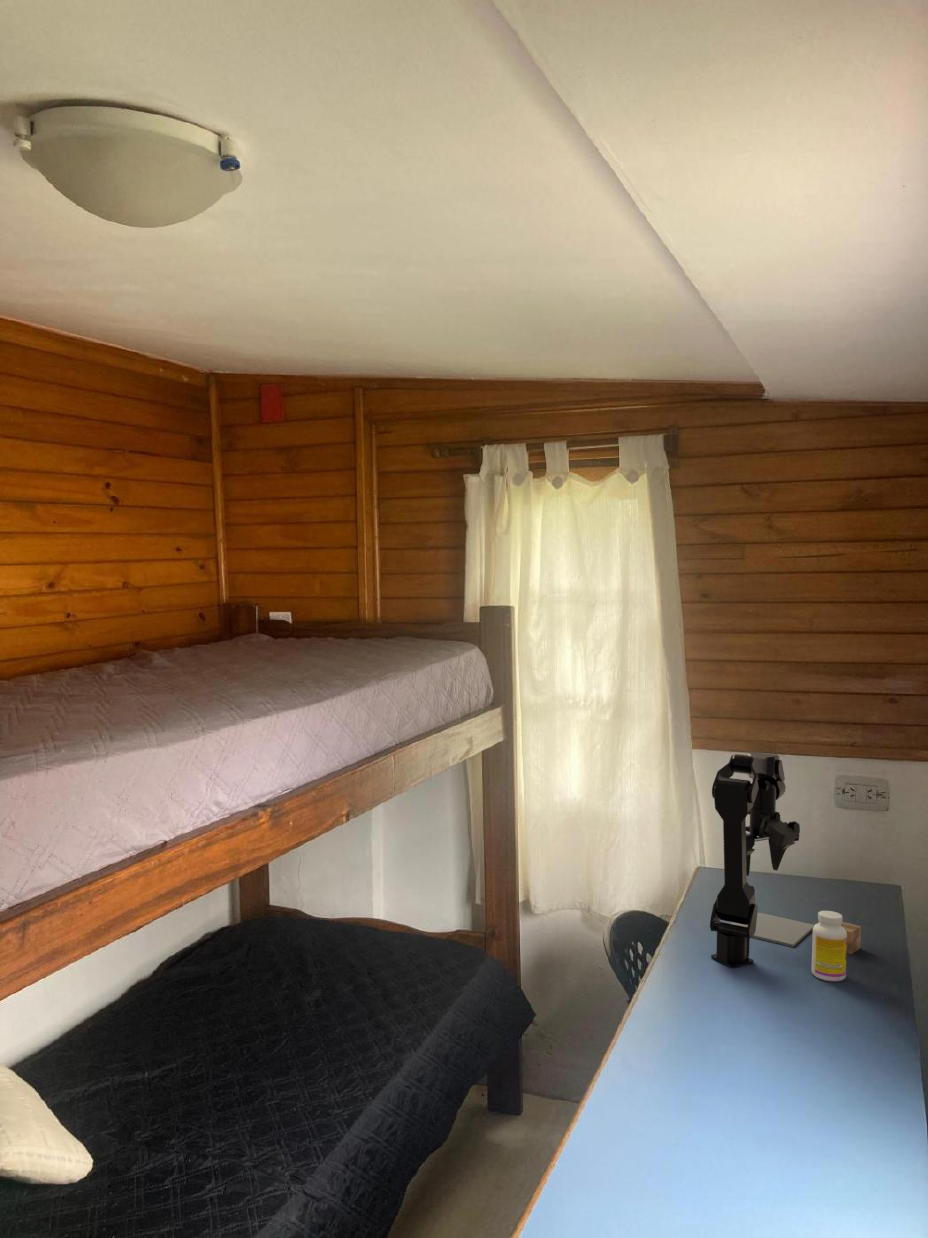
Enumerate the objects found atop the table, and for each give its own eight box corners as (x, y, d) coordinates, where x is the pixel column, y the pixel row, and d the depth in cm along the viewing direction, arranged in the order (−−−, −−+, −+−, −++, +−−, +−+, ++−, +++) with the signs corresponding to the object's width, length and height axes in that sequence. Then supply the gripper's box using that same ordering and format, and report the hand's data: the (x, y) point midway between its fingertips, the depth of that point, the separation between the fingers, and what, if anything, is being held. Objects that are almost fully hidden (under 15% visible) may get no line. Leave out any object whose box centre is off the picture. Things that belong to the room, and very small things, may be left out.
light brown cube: (850, 954, 207) (851, 932, 207) (828, 948, 210) (829, 926, 210) (860, 949, 210) (860, 926, 210) (838, 942, 214) (838, 920, 214)
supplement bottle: (850, 983, 191) (852, 920, 191) (817, 982, 191) (819, 919, 191) (838, 970, 198) (840, 909, 198) (806, 969, 198) (808, 908, 198)
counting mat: (793, 947, 210) (793, 944, 210) (723, 930, 220) (723, 928, 220) (814, 927, 223) (815, 925, 223) (748, 912, 233) (748, 910, 233)
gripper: (759, 818, 209) (757, 888, 210) (818, 810, 218) (816, 877, 218) (723, 807, 219) (721, 874, 219) (781, 800, 228) (779, 864, 228)
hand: (761, 872), depth 221 cm, fingers open, 9 cm apart
